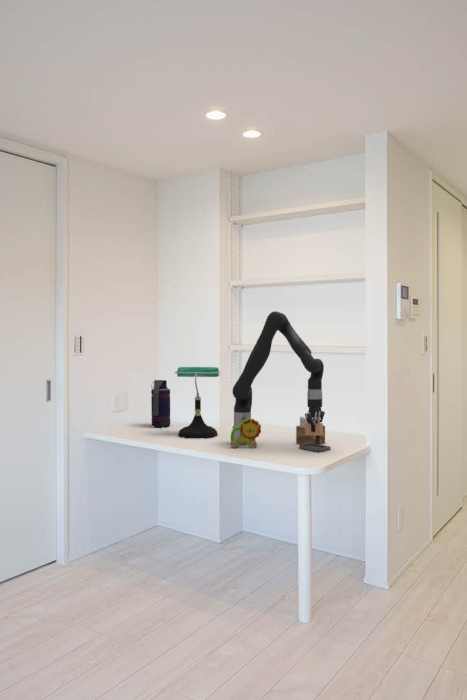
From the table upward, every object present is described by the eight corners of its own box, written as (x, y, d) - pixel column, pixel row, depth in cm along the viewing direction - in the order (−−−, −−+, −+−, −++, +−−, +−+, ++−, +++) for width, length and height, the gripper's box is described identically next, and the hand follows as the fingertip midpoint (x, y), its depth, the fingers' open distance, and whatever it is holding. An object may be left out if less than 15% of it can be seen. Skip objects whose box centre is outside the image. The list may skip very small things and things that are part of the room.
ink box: (305, 439, 322) (305, 418, 322) (299, 436, 330) (299, 416, 330) (319, 438, 324) (319, 417, 324) (313, 436, 333) (313, 415, 332)
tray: (319, 452, 286) (319, 448, 286) (299, 448, 295) (299, 445, 295) (330, 450, 292) (330, 446, 292) (310, 446, 301) (310, 443, 301)
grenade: (156, 424, 376) (156, 379, 375) (173, 425, 372) (173, 379, 371) (146, 428, 363) (146, 380, 362) (164, 428, 359) (163, 381, 358)
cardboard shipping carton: (311, 446, 302) (311, 428, 301) (296, 443, 309) (296, 426, 309) (325, 443, 310) (325, 425, 309) (310, 440, 318) (310, 423, 317)
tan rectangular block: (320, 435, 289) (319, 423, 289) (305, 435, 297) (304, 423, 297) (323, 434, 291) (322, 423, 291) (308, 434, 298) (307, 422, 299)
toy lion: (230, 448, 297) (230, 419, 296) (230, 446, 302) (230, 417, 302) (261, 448, 297) (261, 419, 296) (260, 446, 302) (260, 417, 302)
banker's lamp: (222, 432, 346) (222, 366, 345) (217, 439, 323) (217, 368, 322) (179, 431, 348) (179, 365, 347) (171, 438, 325) (171, 368, 324)
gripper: (317, 396, 300) (317, 429, 301) (300, 398, 291) (300, 432, 291) (329, 397, 295) (329, 430, 295) (311, 399, 285) (311, 434, 286)
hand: (315, 431), depth 293 cm, fingers closed on tan rectangular block, 2 cm apart
